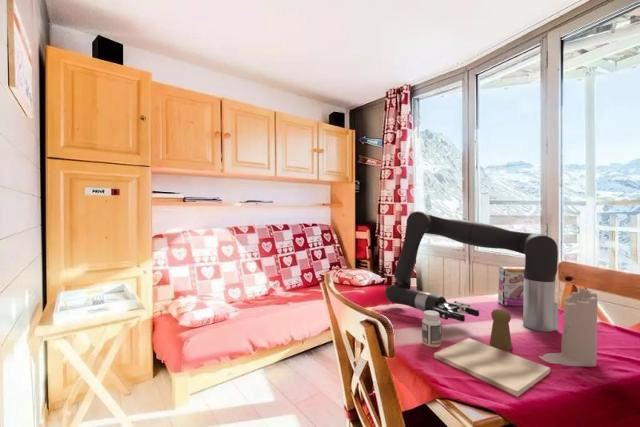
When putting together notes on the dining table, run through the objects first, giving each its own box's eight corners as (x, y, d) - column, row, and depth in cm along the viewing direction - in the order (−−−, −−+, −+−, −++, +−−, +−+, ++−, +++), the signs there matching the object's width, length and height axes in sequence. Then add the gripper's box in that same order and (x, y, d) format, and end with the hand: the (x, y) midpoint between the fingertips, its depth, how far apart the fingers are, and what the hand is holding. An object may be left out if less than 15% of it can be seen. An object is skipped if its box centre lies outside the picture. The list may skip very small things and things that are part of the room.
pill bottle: (441, 341, 98) (441, 311, 98) (440, 349, 93) (440, 317, 93) (423, 338, 100) (423, 308, 100) (420, 345, 95) (421, 314, 95)
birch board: (433, 357, 88) (433, 353, 88) (468, 341, 98) (468, 338, 98) (517, 396, 70) (517, 391, 70) (550, 372, 80) (550, 368, 80)
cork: (485, 341, 98) (485, 307, 98) (503, 341, 98) (503, 307, 98) (497, 350, 92) (498, 314, 92) (516, 349, 92) (517, 313, 92)
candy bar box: (503, 306, 132) (503, 268, 132) (497, 302, 137) (498, 266, 137) (530, 307, 131) (531, 269, 131) (524, 303, 136) (524, 266, 136)
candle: (533, 353, 90) (534, 286, 89) (581, 354, 90) (582, 286, 89) (551, 366, 83) (552, 292, 82) (603, 367, 82) (605, 293, 82)
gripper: (418, 296, 112) (459, 308, 99) (441, 290, 120) (483, 301, 107) (418, 317, 112) (459, 332, 99) (441, 309, 120) (482, 322, 107)
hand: (471, 316), depth 103 cm, fingers open, 8 cm apart
